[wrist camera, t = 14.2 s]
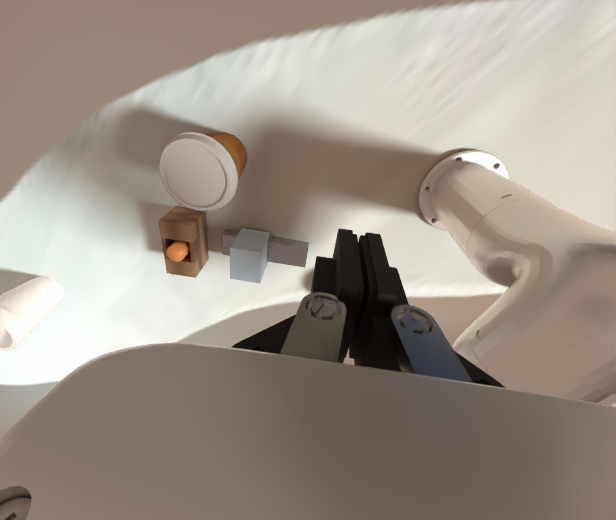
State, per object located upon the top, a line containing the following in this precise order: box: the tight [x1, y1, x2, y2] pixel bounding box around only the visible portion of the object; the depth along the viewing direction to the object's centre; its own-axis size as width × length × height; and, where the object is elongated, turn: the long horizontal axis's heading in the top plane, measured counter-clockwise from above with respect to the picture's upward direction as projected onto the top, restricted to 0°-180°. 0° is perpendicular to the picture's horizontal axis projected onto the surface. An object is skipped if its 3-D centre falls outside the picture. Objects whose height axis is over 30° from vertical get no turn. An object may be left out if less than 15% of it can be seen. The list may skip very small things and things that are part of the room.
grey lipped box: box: [230, 228, 270, 283], centre depth 49 cm, size 5×6×7 cm
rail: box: [222, 230, 309, 267], centre depth 52 cm, size 15×4×2 cm, turn 82°
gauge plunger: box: [166, 240, 190, 262], centre depth 48 cm, size 3×3×4 cm
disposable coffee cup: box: [159, 132, 247, 211], centre depth 39 cm, size 10×10×12 cm
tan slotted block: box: [159, 207, 208, 278], centre depth 50 cm, size 5×10×6 cm, turn 172°
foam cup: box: [0, 276, 64, 351], centre depth 57 cm, size 10×9×13 cm
